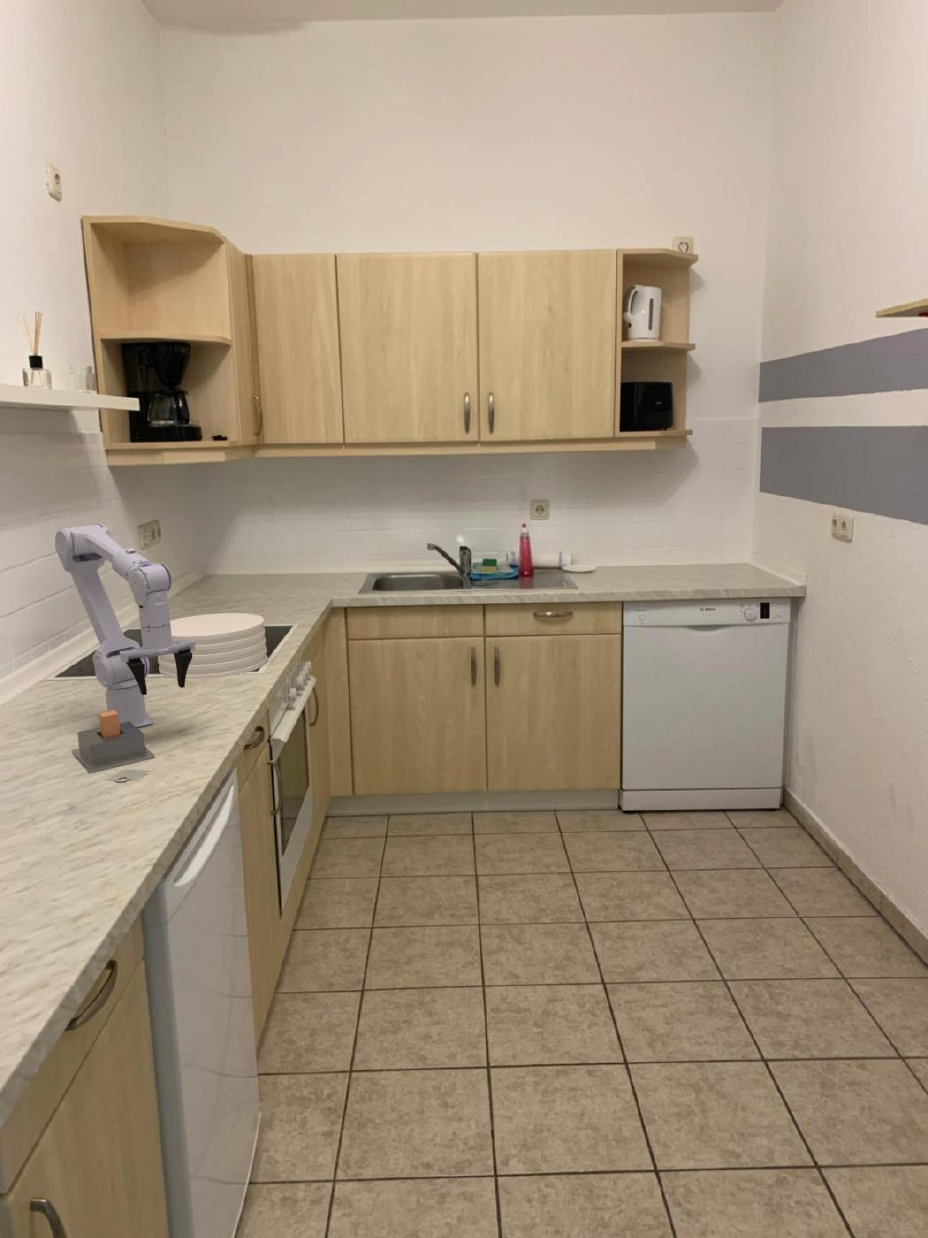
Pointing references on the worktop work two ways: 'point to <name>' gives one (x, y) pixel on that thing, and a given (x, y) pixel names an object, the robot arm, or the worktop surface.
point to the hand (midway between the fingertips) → (162, 690)
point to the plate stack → (218, 645)
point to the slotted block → (111, 748)
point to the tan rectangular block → (109, 723)
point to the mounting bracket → (128, 775)
